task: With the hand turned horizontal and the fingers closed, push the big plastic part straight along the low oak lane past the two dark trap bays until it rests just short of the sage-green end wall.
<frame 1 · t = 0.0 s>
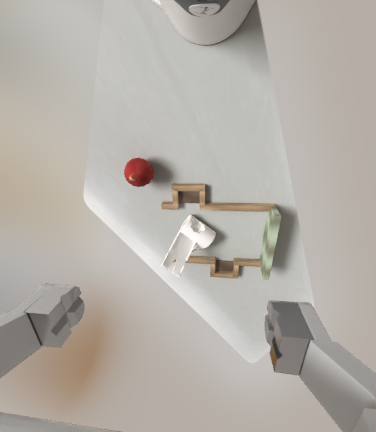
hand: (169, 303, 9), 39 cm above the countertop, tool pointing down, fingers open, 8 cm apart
trap lane: (200, 233, 53), on the countertop
plastic part: (192, 232, 54), on the countertop
onion: (144, 167, 47), on the countertop
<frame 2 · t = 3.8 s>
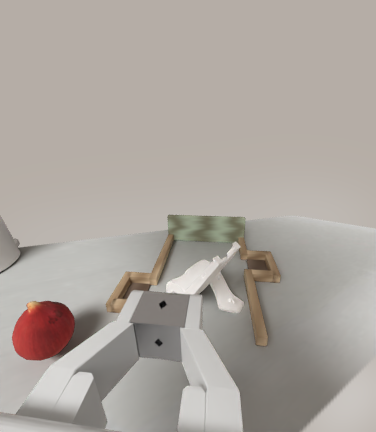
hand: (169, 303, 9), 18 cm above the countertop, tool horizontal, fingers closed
trap lane: (200, 288, 35), on the countertop
plastic part: (204, 301, 33), on the countertop
onion: (54, 352, 26), on the countertop
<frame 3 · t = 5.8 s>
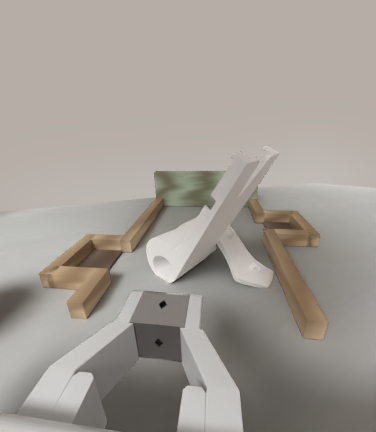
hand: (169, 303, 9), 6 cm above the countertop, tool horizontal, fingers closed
trap lane: (198, 255, 23), on the countertop
plastic part: (209, 273, 20), on the countertop
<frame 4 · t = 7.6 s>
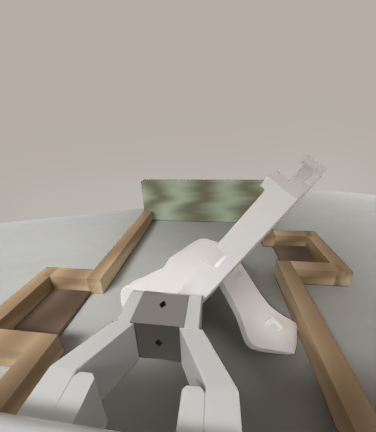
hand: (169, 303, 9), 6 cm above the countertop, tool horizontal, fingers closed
trap lane: (190, 300, 17), on the countertop
plastic part: (209, 326, 15), on the countertop, touching gripper
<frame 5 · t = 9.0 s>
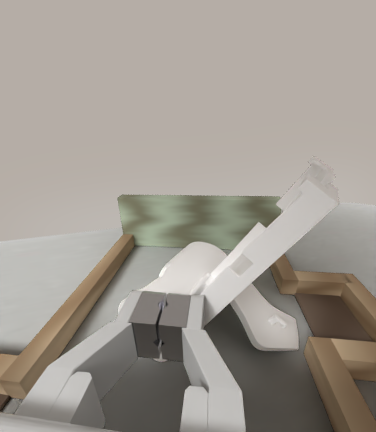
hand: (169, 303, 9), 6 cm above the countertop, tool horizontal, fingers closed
trap lane: (170, 420, 10), on the countertop
plastic part: (212, 330, 15), on the countertop, touching gripper
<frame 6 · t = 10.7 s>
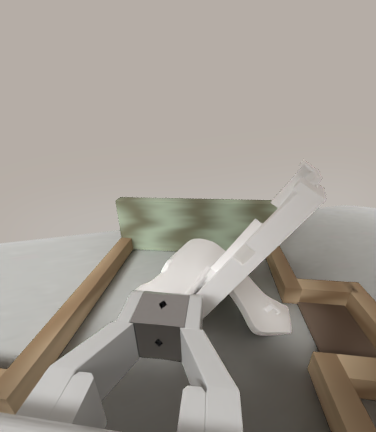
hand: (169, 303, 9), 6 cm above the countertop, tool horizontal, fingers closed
plastic part: (212, 320, 16), on the countertop
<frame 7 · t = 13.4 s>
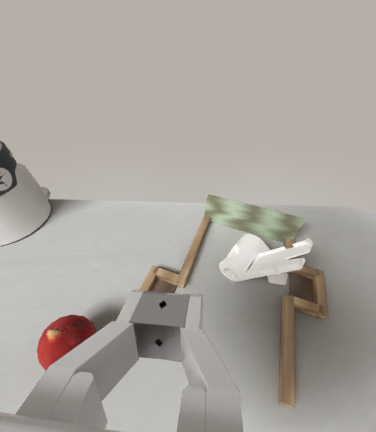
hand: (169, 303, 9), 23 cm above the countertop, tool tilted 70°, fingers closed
trap lane: (229, 305, 31), on the countertop
plastic part: (252, 272, 36), on the countertop
onion: (79, 351, 27), on the countertop
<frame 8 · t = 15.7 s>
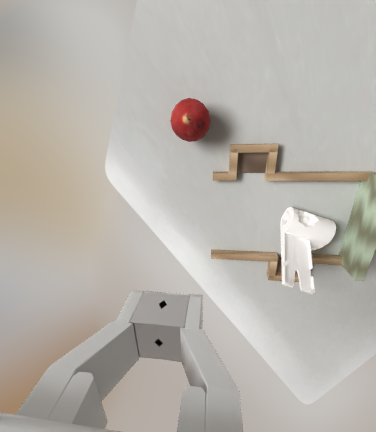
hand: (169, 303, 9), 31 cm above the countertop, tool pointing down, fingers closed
trap lane: (259, 217, 40), on the countertop
plastic part: (294, 231, 40), on the countertop
onion: (193, 121, 35), on the countertop
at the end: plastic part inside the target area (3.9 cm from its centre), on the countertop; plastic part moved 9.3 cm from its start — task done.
